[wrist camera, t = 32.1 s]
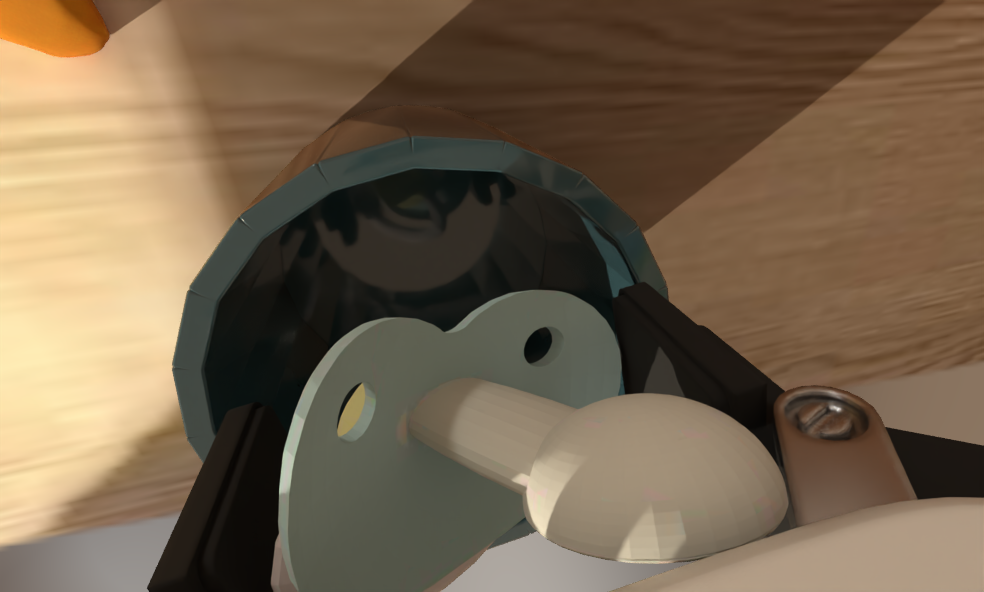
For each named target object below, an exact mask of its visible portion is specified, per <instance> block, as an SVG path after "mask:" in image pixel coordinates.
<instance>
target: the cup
mask: <svg viewBox="0 0 984 592" xmlns="http://www.w3.org/2000/svg"><path fill="white" fill-rule="evenodd" d="M641 282H646V283H648V284H649V285H650V286H651V287H652V288H654V289H655V290H656V291H657V292H658V293H660V294H661V295H662V296H663V297H664V298H666V299H667V300H668V301H669V299H668V288H667V286H666V281H665V279H664V277H663V275H662V273H661V271H660V269H659V266H658V264H657V262H656V260H655V258H654V256H653V254H652V252H651V250H650V248H649V246H648V244H647V242H646V239H645V237H644V235H643V233H642V231H641V229H640V227H639V226H638V225H637V224H636V222H635V221H634V220H633V219H632V218H631V217H630V216H629V215H628V214H627V213H626V212H625V211H624V210H623V209H622V208H620V207H619V206H618V205H617V204H616V203H615V202H614V201H613V200H612V199H611V198H610V197H609V196H608V195H607V194H605V193H604V192H603V191H602V190H601V189H600V188H599V187H598V186H597V185H596V184H595V183H594V182H593V181H592V180H590V179H589V178H588V177H587V176H586V175H585V174H583V173H582V172H580V171H579V170H577V169H575V168H573V167H571V166H569V165H567V164H565V163H563V162H561V161H559V160H557V159H555V158H553V157H551V156H549V155H547V154H545V153H543V152H542V151H540V150H538V149H536V148H534V147H532V146H530V145H528V144H526V143H524V142H522V141H520V140H518V139H516V138H514V137H512V136H510V135H508V134H507V133H505V132H503V131H501V130H499V129H497V128H495V127H493V126H490V125H488V124H485V123H483V122H481V121H478V120H476V119H474V118H472V117H469V116H466V115H464V114H462V113H459V112H457V111H454V110H452V109H448V108H439V107H434V106H422V105H397V106H395V105H394V106H390V107H385V108H380V109H375V110H370V111H368V112H365V113H362V114H359V115H356V116H353V117H350V118H347V119H346V120H343V121H342V122H340V123H339V124H337V125H335V126H334V127H332V128H331V129H329V130H328V131H326V132H325V133H324V134H322V135H321V136H319V137H318V138H317V139H316V140H314V141H313V142H312V143H310V144H309V145H307V146H306V147H304V148H303V149H302V150H301V151H300V152H299V153H298V154H297V155H296V157H295V158H294V159H293V160H292V161H291V162H290V163H289V164H288V165H287V166H286V167H285V168H284V169H283V170H282V171H281V172H280V173H279V174H278V175H277V176H276V177H275V178H274V179H273V180H272V181H271V183H270V184H269V185H268V186H267V187H266V188H265V189H264V190H263V191H262V192H261V193H260V194H259V195H258V196H257V197H256V198H255V199H254V200H253V201H252V202H251V203H250V204H249V205H248V206H247V207H246V209H245V210H244V211H243V212H242V213H241V214H240V215H239V216H238V217H237V218H236V219H235V220H234V222H233V223H232V225H231V226H230V228H229V229H228V230H227V232H226V233H225V235H224V236H223V238H222V239H221V241H220V242H219V244H218V245H217V247H216V248H215V249H214V251H213V252H212V254H211V255H210V257H209V258H208V260H207V261H206V263H205V264H204V265H203V267H202V268H201V270H200V271H199V273H198V274H197V276H196V277H195V279H194V280H193V282H192V283H191V284H190V287H189V290H188V291H187V294H186V299H185V303H184V308H183V313H182V318H181V323H180V327H179V332H178V337H177V342H176V347H175V352H174V356H173V361H172V366H173V368H172V371H173V376H174V381H175V386H176V390H177V395H178V400H179V405H180V409H181V414H182V419H183V423H184V428H185V433H186V436H187V440H188V442H189V443H190V445H191V446H192V447H193V449H194V450H195V452H196V453H197V455H198V456H199V458H200V459H201V461H202V462H203V464H204V461H205V459H206V457H207V455H208V453H209V450H210V448H211V446H212V444H213V441H214V439H215V437H216V435H217V433H218V430H219V428H220V426H221V424H222V422H223V419H224V417H225V415H226V413H227V412H228V410H231V409H234V408H237V407H240V406H243V405H247V404H250V403H253V402H260V403H261V404H262V405H263V406H266V405H269V406H271V407H272V408H273V410H274V411H275V413H276V415H277V417H278V418H279V420H280V422H281V424H282V425H283V427H284V429H285V431H286V433H287V434H289V430H290V427H291V423H292V420H293V416H294V413H295V410H296V407H297V405H298V402H299V400H300V397H301V395H302V392H303V390H304V388H305V386H306V384H307V382H308V380H309V378H310V377H311V375H312V373H313V372H314V370H315V369H316V367H317V366H318V364H319V363H320V362H321V360H322V359H323V358H324V356H325V355H326V354H327V352H328V351H329V350H330V349H331V348H332V347H333V345H334V344H335V343H336V342H338V341H339V340H340V339H341V338H342V337H343V336H345V335H346V334H348V333H349V332H350V331H352V330H353V329H355V328H357V327H358V326H360V325H362V324H364V323H367V322H370V321H374V320H378V319H382V318H396V317H402V318H414V319H419V320H422V321H425V322H427V323H430V324H433V325H435V326H436V327H438V328H439V329H441V331H443V332H447V331H449V330H451V329H453V328H454V327H456V326H457V325H458V324H459V323H460V322H461V321H462V320H463V319H464V318H466V317H467V316H468V315H469V314H470V313H471V312H472V311H474V310H476V309H477V308H479V307H480V306H482V305H484V304H485V303H487V302H489V301H490V300H493V299H495V298H498V297H501V296H503V295H506V294H508V293H513V292H520V291H528V290H551V291H560V292H565V293H568V294H571V295H573V296H575V297H577V298H579V299H581V300H583V301H584V302H586V303H588V304H589V305H591V306H593V307H594V308H595V309H596V310H597V311H598V312H599V314H600V315H601V316H602V317H603V318H605V319H606V321H607V323H608V324H609V326H610V328H611V329H612V331H613V333H614V334H615V338H616V342H617V335H616V328H615V321H614V314H613V307H612V299H613V298H614V297H617V296H618V293H619V290H620V289H621V288H625V287H628V286H631V285H634V284H638V283H641ZM551 344H552V335H551V332H550V330H549V329H548V328H547V327H543V328H539V329H538V330H536V331H534V332H533V333H532V334H531V335H530V336H529V338H528V339H527V341H526V343H525V347H524V357H525V359H526V361H527V362H528V363H529V364H531V363H534V362H537V361H539V360H540V359H542V358H543V357H544V356H545V355H546V354H547V353H548V351H549V349H550V347H551ZM617 344H618V342H617ZM361 384H362V382H361V383H359V384H357V385H355V386H354V387H353V388H352V389H351V390H350V391H349V392H348V394H347V395H346V396H345V398H344V401H343V403H342V405H341V408H340V411H339V415H338V421H337V429H338V425H339V421H340V418H341V415H342V413H343V411H344V409H345V407H346V404H347V403H348V401H349V400H350V398H351V397H352V395H353V394H354V392H355V391H356V390H357V388H358V387H359V386H360V385H361ZM621 395H625V391H624V384H623V377H622V370H621V379H620V389H619V393H618V396H621ZM534 532H536V530H535V529H534V528H533V527H532V526H531V524H530V523H529V522H528V521H527V519H526V517H525V518H523V519H522V520H521V521H520V522H518V523H517V524H516V525H515V526H513V527H512V528H511V529H510V530H508V531H507V532H506V533H505V534H503V535H502V536H500V537H499V538H497V539H496V540H495V541H494V542H493V543H492V544H491V545H490V546H489V548H488V549H490V548H494V547H496V546H499V545H502V544H505V543H508V542H510V541H513V540H516V539H519V538H522V537H525V536H528V535H529V534H530V533H531V534H532V533H534ZM488 549H487V550H488Z"/></svg>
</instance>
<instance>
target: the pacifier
mask: <svg viewBox="0 0 984 592" xmlns="http://www.w3.org/2000/svg"><path fill="white" fill-rule="evenodd" d="M543 327H547V328H548V329H549V330H550V332H551V335H552V344H551V347H550V349H549V351H548V353H547V354H546V355H545V356H544V357H543V358H542V359H540V360H539V361H537V362H534V363H531V364H529V363H528V362H527V361H526V359H525V357H524V347H525V343H526V341H527V339H528V338H529V336H530V335H531V334H532V333H533V332H534V331H536V330H538V329H539V328H543ZM621 369H622V366H621V357H620V350H619V347H618V344H617V342H616V338H615V334H614V333H613V331H612V329H611V328H610V326H609V324H608V323H607V321H606V319H605V318H603V317H602V316H601V315H600V314H599V312H598V311H597V310H596V309H595V308H594V307H593V306H591V305H589V304H588V303H586V302H584V301H583V300H581V299H579V298H577V297H575V296H573V295H571V294H568V293H565V292H560V291H551V290H528V291H520V292H513V293H508V294H506V295H503V296H501V297H498V298H495V299H493V300H490V301H489V302H487V303H485V304H484V305H482V306H480V307H479V308H477V309H476V310H474V311H472V312H471V313H470V314H469V315H468V316H467V317H466V318H464V319H463V320H462V321H461V322H460V323H459V324H458V325H457V326H456V327H454V328H453V329H451V330H449V331H447V332H443V331H441V329H439V328H438V327H436V326H435V325H433V324H430V323H427V322H425V321H422V320H419V319H414V318H402V317H396V318H382V319H378V320H374V321H370V322H367V323H364V324H362V325H360V326H358V327H357V328H355V329H353V330H352V331H350V332H349V333H348V334H346V335H345V336H343V337H342V338H341V339H340V340H339V341H338V342H336V343H335V344H334V345H333V347H332V348H331V349H330V350H329V351H328V352H327V354H326V355H325V356H324V358H323V359H322V360H321V362H320V363H319V364H318V366H317V367H316V369H315V370H314V372H313V373H312V375H311V377H310V378H309V380H308V382H307V384H306V386H305V388H304V390H303V392H302V395H301V397H300V400H299V402H298V405H297V407H296V410H295V413H294V416H293V420H292V423H291V427H290V430H289V434H288V437H287V441H286V444H285V448H284V453H283V459H282V468H281V477H280V487H279V516H278V526H279V535H278V537H277V539H276V542H275V551H274V559H273V568H272V577H271V586H272V589H273V591H274V592H440V591H441V590H443V589H444V588H446V587H447V586H448V585H449V584H451V582H453V581H454V580H455V579H456V578H458V576H460V575H461V574H462V573H463V572H465V571H466V570H467V569H468V568H469V567H470V566H471V565H472V564H474V563H475V562H476V561H477V560H478V558H479V557H480V556H481V555H482V554H483V553H484V552H485V551H486V550H487V549H488V548H489V546H490V545H491V544H492V543H493V542H494V541H495V540H496V539H497V538H499V537H500V536H502V535H503V534H505V533H506V532H507V531H508V530H510V529H511V528H512V527H513V526H515V525H516V524H517V523H518V522H520V521H521V520H522V519H523V518H525V517H526V519H527V521H528V522H529V523H530V524H531V526H532V527H533V528H534V529H535V530H536V531H537V532H539V533H540V534H541V535H542V536H544V537H545V538H546V539H547V540H550V541H551V542H553V543H555V544H557V545H559V546H561V547H563V548H566V549H568V550H571V551H574V552H577V553H580V554H583V555H587V556H592V557H596V558H601V559H605V560H613V561H621V562H629V563H659V564H661V563H675V562H690V561H695V560H701V559H704V558H707V557H710V556H713V555H716V554H719V553H722V552H724V551H727V550H730V549H733V548H736V547H740V546H743V545H746V544H749V543H752V542H755V541H758V540H761V539H763V538H765V537H766V536H767V535H769V534H770V533H772V532H773V531H774V530H775V529H776V528H777V526H778V525H779V524H780V523H781V521H782V520H783V519H784V517H785V514H786V511H787V507H788V504H789V503H788V497H787V492H786V487H785V483H784V480H783V477H782V474H781V472H780V470H779V468H778V466H777V464H776V463H775V461H774V459H773V458H772V456H771V455H770V453H769V452H768V451H767V449H766V448H765V447H764V445H763V444H762V443H761V442H760V441H759V440H758V439H757V437H756V436H755V435H754V434H752V433H751V432H750V431H749V430H748V429H747V428H745V427H744V426H743V425H741V424H740V423H738V422H737V421H736V420H734V419H733V418H731V417H730V416H728V415H726V414H725V413H723V412H721V411H719V410H717V409H715V408H713V407H710V406H708V405H705V404H703V403H700V402H697V401H694V400H690V399H687V398H683V397H678V396H673V395H665V394H653V393H640V394H628V395H621V396H618V393H619V389H620V379H621ZM361 382H362V384H361V385H360V386H359V387H358V388H357V390H356V391H355V392H354V394H353V395H352V397H351V398H350V400H349V401H348V403H347V404H346V407H345V409H344V411H343V413H342V415H341V418H340V421H339V425H338V429H337V421H338V415H339V411H340V408H341V405H342V403H343V401H344V398H345V396H346V395H347V394H348V392H349V391H350V390H351V389H352V388H353V387H354V386H355V385H357V384H359V383H361Z"/></svg>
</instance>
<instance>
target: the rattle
mask: <svg viewBox="0 0 984 592" xmlns="http://www.w3.org/2000/svg"><path fill="white" fill-rule="evenodd" d="M109 36H110V34H109V31H108V30H107V28H106V25H105V23H104V21H103V18H102V16H101V15H100V13H99V11H98V10H97V8H96V6H95V4H94V3H93V1H92V0H0V38H1V39H4V40H7V41H10V42H13V43H16V44H20V45H23V46H26V47H29V48H32V49H35V50H38V51H41V52H44V53H46V54H49V55H52V56H57V57H77V56H86V55H91V54H93V53H96V52H98V51H99V50H101V49H102V48H103V47H104V45H105V43H106V42H107V41H108V40H109Z"/></svg>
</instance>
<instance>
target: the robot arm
mask: <svg viewBox="0 0 984 592" xmlns="http://www.w3.org/2000/svg"><path fill="white" fill-rule="evenodd" d="M612 307H613V314H614V321H615V328H616V335H617V342H618V347H619V350H620V357H621V366H622V369H621V370H622V377H623V384H624V391H625V395H628V394H640V393H653V394H665V395H673V396H678V397H683V398H687V399H690V400H694V401H697V402H700V403H703V404H705V405H708V406H710V407H713V408H715V409H717V410H719V411H721V412H723V413H725V414H726V415H728V416H730V417H731V418H733V419H734V420H736V421H737V422H738V423H740V424H741V425H743V426H744V427H745V428H747V429H748V430H749V431H750V432H751V433H752V434H754V435H755V436H756V437H757V439H758V440H759V441H760V442H761V443H762V444H763V445H764V447H765V448H766V449H767V451H768V452H769V453H770V455H771V456H772V458H773V459H774V461H775V463H776V464H777V466H778V468H779V470H780V472H781V474H782V477H783V480H784V483H785V487H786V492H787V497H788V503H789V504H788V507H787V511H786V514H785V517H784V519H783V520H782V521H781V523H780V524H779V525H778V526H777V528H776V529H775V530H774V531H773V532H772V533H770V534H769V535H767V536H766V537H765V538H763V539H761V540H758V541H755V542H752V543H749V544H746V545H743V546H740V547H736V548H733V549H730V550H727V551H724V552H722V553H719V554H716V555H713V556H710V557H707V558H704V559H701V560H699V561H696V562H693V563H690V564H687V565H684V566H681V567H678V568H676V569H673V570H670V571H667V572H664V573H661V574H658V575H656V576H653V577H650V578H647V579H644V580H641V581H638V582H635V583H632V584H630V585H627V586H624V587H621V588H618V589H616V590H613V591H609V592H984V446H982V445H977V444H971V443H966V442H961V441H956V440H951V439H945V438H940V437H935V436H930V435H924V434H919V433H914V432H908V431H903V430H898V429H892V428H887V427H885V426H884V424H883V422H882V419H881V417H880V416H879V414H878V413H877V412H876V410H875V409H874V407H873V406H871V405H870V404H869V403H867V402H866V401H865V400H863V399H862V398H860V397H858V396H856V395H854V394H852V393H850V392H848V391H844V390H841V389H837V388H833V387H826V386H817V385H813V386H800V387H797V388H793V389H790V390H787V391H786V392H785V391H784V390H783V389H782V388H780V387H779V386H778V385H777V384H775V383H774V382H773V381H772V380H771V379H769V378H768V377H767V376H766V375H764V374H763V373H762V372H761V371H760V370H758V369H757V368H756V367H755V366H753V365H752V364H751V363H750V362H749V361H747V360H746V359H745V358H744V357H742V356H741V355H740V354H739V353H737V352H736V351H735V350H734V349H733V348H731V347H730V346H729V345H728V344H726V343H725V342H724V341H723V340H722V339H720V338H719V337H718V336H717V335H715V334H714V333H713V332H712V331H711V330H709V329H708V328H706V327H705V326H702V325H697V324H696V323H694V322H693V321H692V320H691V319H690V318H688V317H687V316H686V315H685V314H684V313H682V312H681V311H680V310H679V309H678V308H676V307H675V306H674V305H673V304H672V303H670V302H669V301H668V300H667V299H666V298H664V297H663V296H662V295H661V294H660V293H658V292H657V291H656V290H655V289H654V288H652V287H651V286H650V285H649V284H648V283H646V282H641V283H638V284H634V285H631V286H628V287H625V288H621V289H620V290H619V293H618V296H617V297H614V298H613V299H612ZM287 437H288V434H287V433H286V431H285V429H284V427H283V425H282V424H281V422H280V420H279V418H278V417H277V415H276V413H275V411H274V410H273V408H272V407H271V406H269V405H266V406H263V405H262V404H261V403H260V402H253V403H250V404H247V405H243V406H240V407H237V408H234V409H231V410H228V412H227V413H226V415H225V417H224V419H223V422H222V424H221V426H220V428H219V430H218V433H217V435H216V437H215V439H214V441H213V444H212V446H211V448H210V450H209V453H208V455H207V457H206V459H205V461H204V464H203V466H202V468H201V470H200V472H199V475H198V477H197V479H196V481H195V483H194V486H193V488H192V490H191V492H190V494H189V497H188V499H187V501H186V503H185V505H184V508H183V510H182V512H181V514H180V516H179V519H178V521H177V523H176V525H175V527H174V530H173V532H172V534H171V537H170V539H169V541H168V543H167V545H166V547H165V550H164V552H163V554H162V556H161V559H160V561H159V563H158V565H157V567H156V569H155V572H154V574H153V576H152V578H151V580H150V583H149V585H148V587H147V589H148V590H149V592H274V591H273V589H272V586H271V577H272V568H273V559H274V551H275V542H276V539H277V537H278V535H279V526H278V516H279V487H280V477H281V468H282V459H283V453H284V448H285V444H286V441H287Z"/></svg>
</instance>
